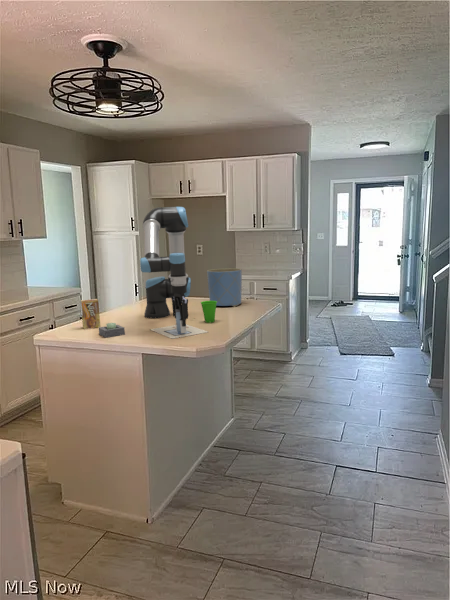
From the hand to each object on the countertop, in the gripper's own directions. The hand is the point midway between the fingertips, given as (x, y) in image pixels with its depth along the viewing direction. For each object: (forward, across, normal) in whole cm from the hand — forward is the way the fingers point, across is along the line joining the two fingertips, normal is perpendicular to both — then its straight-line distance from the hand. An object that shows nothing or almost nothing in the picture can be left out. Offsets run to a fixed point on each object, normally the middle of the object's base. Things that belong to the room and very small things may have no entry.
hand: (181, 331), depth 226 cm
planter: (+1, -55, +62) cm, 82 cm away
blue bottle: (+1, 0, 0) cm, 1 cm away
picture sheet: (+1, -7, +2) cm, 7 cm away
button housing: (+1, -24, -27) cm, 36 cm away
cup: (+1, -16, +26) cm, 30 cm away
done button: (0, -24, -27) cm, 36 cm away
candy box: (+1, -48, -30) cm, 56 cm away
